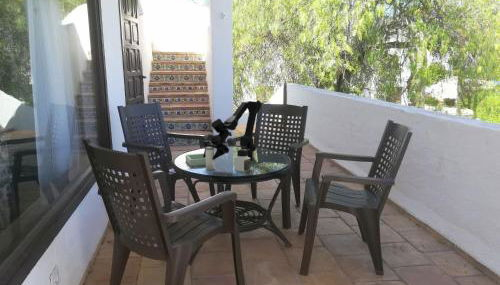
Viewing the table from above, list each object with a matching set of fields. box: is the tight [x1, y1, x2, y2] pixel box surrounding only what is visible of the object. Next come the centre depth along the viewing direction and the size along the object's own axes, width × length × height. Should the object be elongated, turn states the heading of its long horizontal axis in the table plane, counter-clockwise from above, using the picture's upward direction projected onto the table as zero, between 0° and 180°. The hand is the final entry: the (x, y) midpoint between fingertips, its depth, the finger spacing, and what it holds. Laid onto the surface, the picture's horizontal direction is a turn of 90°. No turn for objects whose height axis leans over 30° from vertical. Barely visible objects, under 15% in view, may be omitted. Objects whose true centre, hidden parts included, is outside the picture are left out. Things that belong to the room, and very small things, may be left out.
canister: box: [204, 147, 215, 171], centre depth 232 cm, size 5×5×13 cm
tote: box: [185, 152, 206, 168], centre depth 245 cm, size 15×13×4 cm
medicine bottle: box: [233, 148, 252, 173], centre depth 231 cm, size 7×7×12 cm
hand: (208, 158), depth 231 cm, fingers open, 8 cm apart
